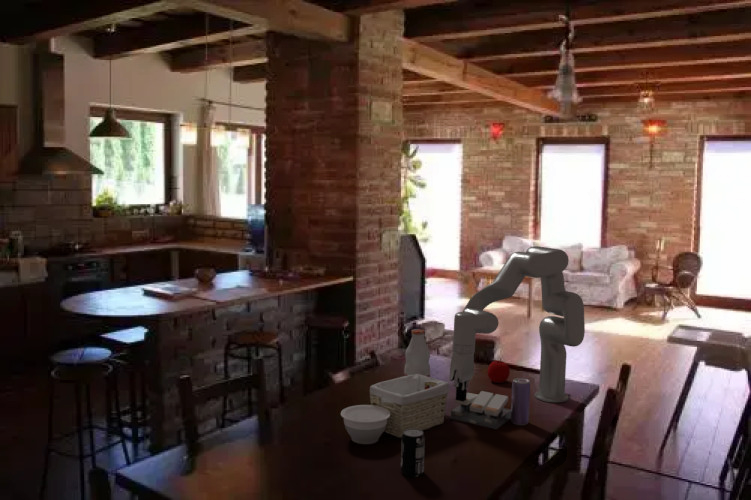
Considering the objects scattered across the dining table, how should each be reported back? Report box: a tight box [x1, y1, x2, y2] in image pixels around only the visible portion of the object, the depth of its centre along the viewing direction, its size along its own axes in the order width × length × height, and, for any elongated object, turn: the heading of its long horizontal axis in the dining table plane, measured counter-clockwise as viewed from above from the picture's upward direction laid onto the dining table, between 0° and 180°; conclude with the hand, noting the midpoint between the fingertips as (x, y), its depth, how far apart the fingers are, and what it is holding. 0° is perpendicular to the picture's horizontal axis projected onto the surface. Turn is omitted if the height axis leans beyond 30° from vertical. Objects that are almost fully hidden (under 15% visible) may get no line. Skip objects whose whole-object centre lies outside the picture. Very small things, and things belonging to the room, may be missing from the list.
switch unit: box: [450, 403, 511, 430], centre depth 239 cm, size 13×17×5 cm
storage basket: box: [369, 374, 450, 438], centre depth 231 cm, size 24×16×15 cm
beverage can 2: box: [510, 377, 531, 426], centre depth 235 cm, size 6×6×15 cm
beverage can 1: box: [400, 428, 426, 478], centre depth 194 cm, size 7×7×12 cm
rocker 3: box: [484, 393, 509, 416], centre depth 236 cm, size 10×4×2 cm, turn 146°
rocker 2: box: [470, 390, 495, 413], centre depth 239 cm, size 10×4×2 cm, turn 146°
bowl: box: [340, 404, 390, 445], centre depth 219 cm, size 16×16×8 cm
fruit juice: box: [403, 328, 431, 390], centre depth 251 cm, size 9×9×28 cm
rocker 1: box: [454, 392, 479, 405], centre depth 242 cm, size 10×4×2 cm, turn 147°
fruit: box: [486, 357, 511, 384], centre depth 282 cm, size 9×9×10 cm
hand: (460, 400), depth 237 cm, fingers closed
